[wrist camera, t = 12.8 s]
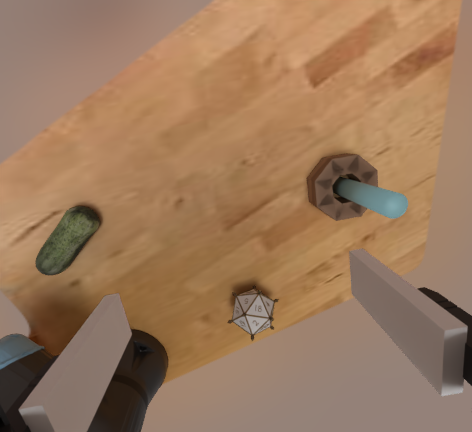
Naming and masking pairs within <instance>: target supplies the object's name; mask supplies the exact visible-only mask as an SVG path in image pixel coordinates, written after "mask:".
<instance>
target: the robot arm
mask: <svg viewBox="0 0 472 432" xmlns="http://www.w3.org/2000/svg"><path fill="white" fill-rule="evenodd" d="M349 255H350V272H351V288H352V295H353V296H354V297H355V298H356V299H357V300H358V301H359V302H360V304H361V305H362V306H363V307H364V308H365V309H366V311H367V312H368V313H369V314H370V315H371V316H372V317H373V319H374V320H375V321H376V322H377V323H378V324H379V325H380V326H381V328H382V329H383V330H384V331H385V332H386V333H387V335H388V336H389V337H390V338H391V339H392V340H393V341H394V343H395V344H396V345H397V346H398V347H399V348H400V349H401V351H403V353H404V354H405V355H406V356H407V357H408V359H409V360H410V361H411V362H412V363H413V364H414V365H415V367H416V368H417V369H418V370H419V371H420V372H421V373H422V375H423V376H424V377H425V378H426V379H427V380H428V381H429V383H430V384H431V385H432V386H433V387H434V388H435V389H436V391H437V392H438V393H439V394H440V395H441V396H445V395H451V394H456V393H461V392H463V382H464V379H465V380H466V381H467V382H468V383H469V384H470V385H471V386H472V316H471V315H470V314H468V313H467V312H465V311H463V310H462V309H461V308H459V307H457V305H455V304H454V303H452V302H451V301H448V299H446V298H445V297H443V296H442V295H440V294H439V293H437V292H434V291H432V290H430V289H427V288H425V287H424V288H418V289H416V288H415V287H414V286H412V285H411V284H410V283H408V282H407V281H405V280H404V279H403V278H402V277H400V276H399V275H397V274H396V273H395V272H393V271H392V270H391V269H389V268H388V267H387V266H385V265H384V264H383V263H381V262H380V261H379V260H377V259H376V258H374V257H373V256H372V255H370V254H369V253H368V252H366V251H365V250H364V249H358V250H353V251H349ZM167 367H168V358H167V354H166V351H165V349H164V348H163V346H162V345H161V344H160V343H159V342H158V341H157V340H156V339H155V338H154V337H152V336H150V335H149V334H146V333H144V332H141V331H137V330H131V329H130V326H129V323H128V320H127V317H126V314H125V311H124V308H123V305H122V302H121V299H120V296H119V293H116V294H111V295H105V296H104V298H103V299H102V300H101V302H100V303H99V304H98V305H97V307H96V308H95V309H94V311H93V312H92V313H91V315H90V316H89V317H88V319H87V320H86V321H85V323H84V324H83V325H82V327H81V328H80V329H79V330H78V332H77V333H76V334H75V336H74V337H73V338H72V340H71V341H70V342H69V344H68V345H67V346H66V348H65V349H64V350H63V352H62V353H61V354H60V355H57V356H53V355H52V354H50V353H49V352H48V351H47V350H45V347H44V346H39V345H38V344H36V343H35V342H33V341H32V340H30V339H29V338H27V337H26V336H24V335H21V334H11V335H7V336H5V337H3V338H2V339H0V432H141V429H142V425H143V421H144V418H145V414H146V410H147V407H148V405H149V403H150V401H151V400H152V398H153V397H154V395H155V394H156V392H157V390H158V389H159V388H160V386H161V385H162V383H163V381H164V379H165V375H166V371H167Z"/></svg>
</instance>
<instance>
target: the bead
mask: <svg viewBox="0 0 472 432" xmlns="http://www.w3.org/2000/svg"><path fill="white" fill-rule="evenodd" d="M345 174H346V175H347V176H348V177H349V179H350V180H354V181H358V182H361V183H365V184H368V185H372V186H375V187H378V176H377V170H376V169H375V168H374V167H373V166H372V165H370V164H369V163H368V162H367V161H365V160H364V159H363V158H362V157H361V156H359V155H357V154H342V155H336V156H331V157H325V158H322V159H321V160H320V162H319V163H318V164H317V166H316V167H315V168H314V170H313V171H312V172H311V173H310V175H309V176H308V177H307V185H308V195H309V202H310V203H312V204H313V205H315V206H316V207H317V208H319V209H320V210H321V211H323V212H324V213H326V214H327V215H328V216H330V217H331V218H333V219H334V220H336V221H337V220H343V219H349V218H354V217H360V216H362V214H363V213H364V212H365V211H366V210H367V208H366V207H364V206H362V205H359V204H357V203H355V202H353V201H350V200H348V199H346V198H344V197H339V198H334V197H333V189H332V185H333V184H334V182H335V181H336V180H337V179H338V177H339V176H340V175H345Z"/></svg>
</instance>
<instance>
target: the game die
mask: <svg viewBox="0 0 472 432" xmlns="http://www.w3.org/2000/svg"><path fill="white" fill-rule="evenodd" d="M255 288H256V286H255V285H254V286H253V289H252V290H249V291H247V292H244V293H241V294H239V295H236V293H233V292H232V293H233V295H234V296H236V298H235V304H234V310H233V316H232V320H229V321H228V323H231V322H234V323H235V324H236V325H238V326H239V327H241V328H242V329H243V330H245V331H246V332H248V333H249V334H250V335H252V336H251V340H252V341H253V340H254V335H255V334H257V333H259V332H261V331H263V330H265V329H267V328H269V327H270V328H271V329H274V327H273V326H271V323H272V321H273V320H274V319H273V318H272V316H273V310H274V303H275V302H278V300H279V299H275V300H274V301H273V300H272V299H270V298H269V297H267V296H265V295H264V294H262V293H261V290H258V291H257V290H256V289H255Z"/></svg>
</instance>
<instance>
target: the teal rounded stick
mask: <svg viewBox="0 0 472 432" xmlns="http://www.w3.org/2000/svg"><path fill="white" fill-rule="evenodd" d="M332 189H333V193H335V194H337V195H339V196H341V197H344V198H346V199H348V200H350V201H353V202H355V203H357V204H359V205H362V206H364V207H366V208H368V209H370V210H373V211H375V212H377V213H379V214H382V215H384V216H386V217H388V218H398V217H400V216H402V215H403V214H404V213H405V211H406V209H407V207H408V201H407V198H406V197H405V196H404V195H403V194H400V193H397V192H393V191H389V190H386V189H382V188H379V187H375V186H372V185H368V184H365V183H361V182H358V181H354V180H350V179H347V178H343V177H340V176H339V177H338V179H337V180H336V181H335V182H334V184H333V185H332Z"/></svg>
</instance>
